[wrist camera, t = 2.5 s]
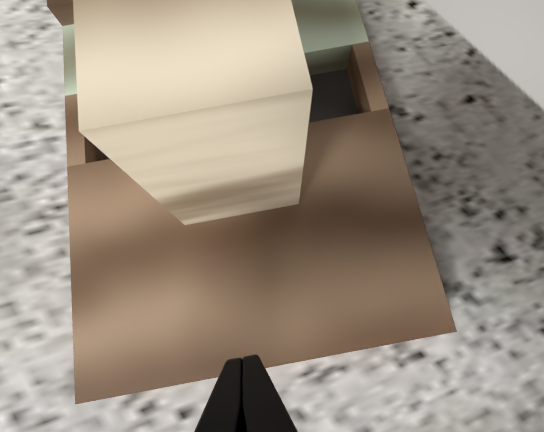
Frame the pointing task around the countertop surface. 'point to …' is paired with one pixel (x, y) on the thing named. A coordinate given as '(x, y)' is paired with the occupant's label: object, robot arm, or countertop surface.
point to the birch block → (197, 100)
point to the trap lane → (254, 242)
